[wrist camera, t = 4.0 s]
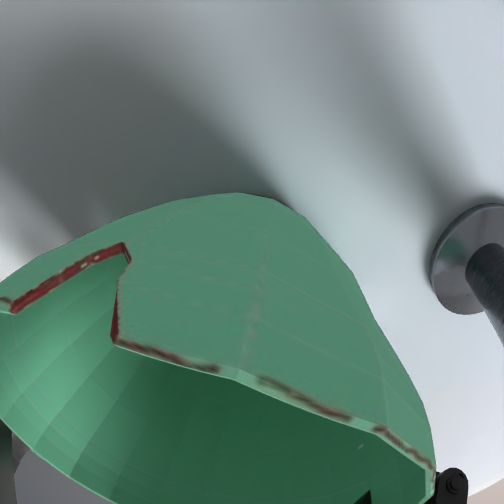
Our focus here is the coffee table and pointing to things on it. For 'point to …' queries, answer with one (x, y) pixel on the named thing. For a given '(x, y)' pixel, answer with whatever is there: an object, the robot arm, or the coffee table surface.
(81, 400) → the mug
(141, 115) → the coffee table surface
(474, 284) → the metal wall bracket
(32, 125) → the coffee table surface
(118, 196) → the coffee table surface
